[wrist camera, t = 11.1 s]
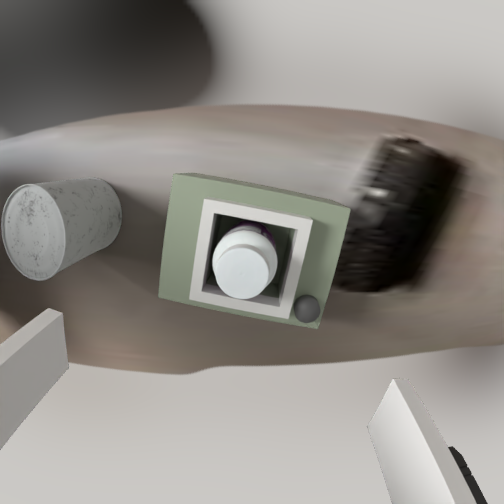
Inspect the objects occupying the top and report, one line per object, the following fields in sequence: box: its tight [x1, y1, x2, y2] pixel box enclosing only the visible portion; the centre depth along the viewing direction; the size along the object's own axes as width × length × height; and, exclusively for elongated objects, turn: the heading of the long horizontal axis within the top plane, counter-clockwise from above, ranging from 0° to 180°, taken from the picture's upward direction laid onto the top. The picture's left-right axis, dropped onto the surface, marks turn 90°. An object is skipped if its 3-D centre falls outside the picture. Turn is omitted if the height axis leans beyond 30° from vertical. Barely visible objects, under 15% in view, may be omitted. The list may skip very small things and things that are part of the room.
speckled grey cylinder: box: [1, 177, 122, 281], centre depth 30 cm, size 10×10×12 cm
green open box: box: [158, 173, 351, 329], centre depth 31 cm, size 16×12×10 cm
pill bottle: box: [212, 220, 278, 299], centre depth 27 cm, size 5×5×10 cm
